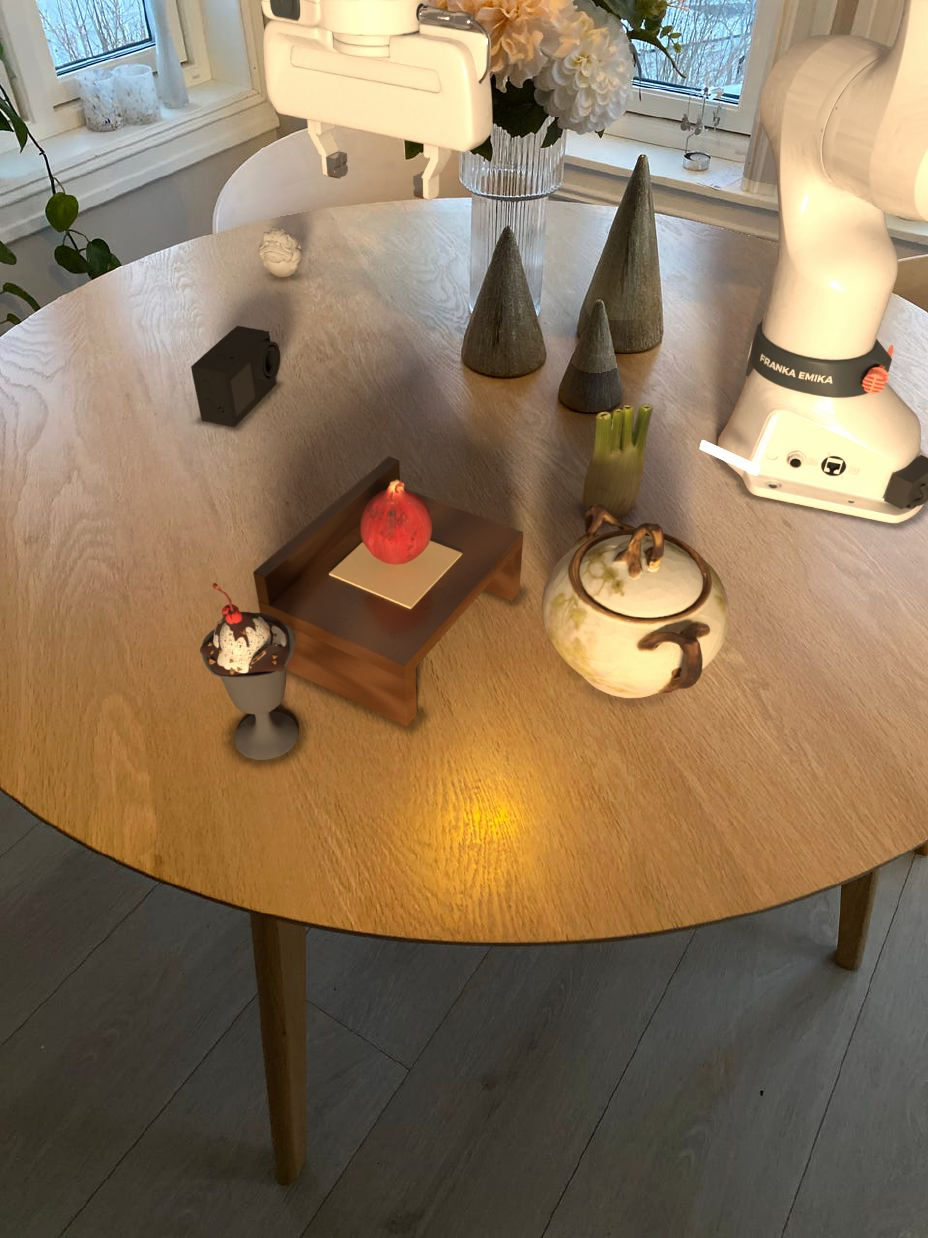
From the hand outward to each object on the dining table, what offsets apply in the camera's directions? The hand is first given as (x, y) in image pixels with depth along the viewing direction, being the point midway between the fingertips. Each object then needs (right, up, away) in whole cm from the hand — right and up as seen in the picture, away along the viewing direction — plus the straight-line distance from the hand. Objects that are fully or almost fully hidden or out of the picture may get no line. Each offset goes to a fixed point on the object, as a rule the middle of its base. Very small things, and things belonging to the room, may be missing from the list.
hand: (380, 186), depth 83 cm
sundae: (-8, -47, -7) cm, 48 cm away
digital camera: (-18, -12, +29) cm, 37 cm away
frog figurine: (-19, +12, +55) cm, 59 cm away
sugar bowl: (+21, -41, -1) cm, 46 cm away
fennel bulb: (+22, -27, +15) cm, 38 cm away
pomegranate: (+2, -33, -3) cm, 33 cm away
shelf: (+2, -38, +2) cm, 38 cm away
